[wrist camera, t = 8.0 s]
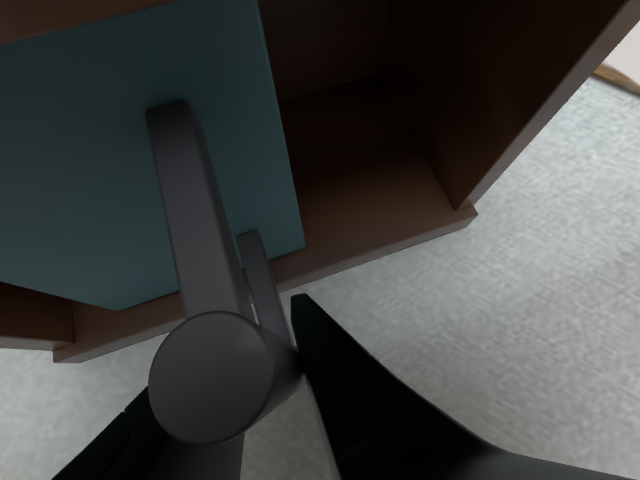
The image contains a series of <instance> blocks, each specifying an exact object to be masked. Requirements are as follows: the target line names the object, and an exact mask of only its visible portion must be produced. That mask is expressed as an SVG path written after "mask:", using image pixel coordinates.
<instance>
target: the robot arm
mask: <svg viewBox="0 0 640 480" xmlns="http://www.w3.org/2000/svg"><path fill="white" fill-rule="evenodd" d="M291 324H292V328H293V332H294V336H295V340H296V344H297V348H298V351H299V355H300V359H301V363H302V367H303V371H304V375H305V379H306V383H307V386H308V390H309V394H310V397H311V401H312V404H313V408H314V411H315V415H316V418H317V422H318V425H319V429H320V432H321V436H322V439H323V443H324V446H325V450H326V454H327V457H328V461H329V464H330V468H331V471H332V475H333V478H334V480H635V479H630V478H626V477H621V476H616V475H612V474H607V473H602V472H598V471H593V470H588V469H584V468H579V467H574V466H570V465H565V464H560V463H556V462H551V461H546V460H542V459H537V458H532V457H528V456H523V455H519V454H515V453H511V452H509V451H506V450H503V449H501V448H499V447H497V446H495V445H493V444H491V443H489V442H487V441H485V440H484V439H482V438H480V437H479V436H477V435H476V434H474V433H473V432H471V431H470V430H468V429H467V428H466V427H464V426H463V425H461V424H460V423H459V422H457V421H456V420H454V419H453V418H452V417H450V416H449V415H447V414H446V413H445V412H443V411H442V410H440V409H439V408H438V407H436V406H435V405H433V404H432V403H431V402H429V401H428V400H426V399H425V398H424V397H422V396H421V395H419V394H418V393H417V392H415V391H414V390H413V389H411V388H410V387H409V386H407V385H406V384H405V383H403V382H402V381H401V380H399V379H398V378H397V377H396V376H395V375H393V374H392V373H391V372H390V371H389V370H388V369H387V368H385V367H384V366H383V365H382V364H381V363H380V362H379V361H378V360H377V359H376V358H375V357H373V356H372V355H370V353H369V352H368V351H367V350H366V349H365V348H364V347H363V346H362V345H360V344H359V343H358V342H357V341H356V340H355V339H354V338H353V337H352V336H351V335H350V334H349V333H348V332H347V331H346V330H344V329H343V328H342V327H341V326H340V325H339V324H338V323H337V322H336V321H335V320H334V319H333V318H332V317H331V316H330V315H328V314H327V313H326V312H325V311H324V310H323V309H322V308H321V307H320V306H319V305H318V304H317V303H316V302H315V301H314V300H312V299H311V298H310V297H309V296H308V295H307V294H306V293H302V294H298V295H293V296H291ZM124 411H125V412H121V413H120V414H119V415H118V416H117V417H116V418H115V419H114V420H113V421H112V422H111V423H110V424H109V425H108V426H107V427H106V428H105V429H104V430H103V431H102V432H101V433H100V434H99V435H98V436H97V437H96V438H95V439H94V440H93V441H92V442H91V443H90V444H89V445H88V446H87V447H86V448H85V449H84V450H83V451H81V452H80V453H79V454H78V455H77V456H76V457H75V458H74V459H73V460H72V461H71V462H70V463H68V464H67V465H66V466H65V467H64V468H63V469H62V470H61V471H60V472H59V473H58V474H57V475H55V476H54V477H53V478H52V479H51V480H240V472H241V462H242V453H243V443H244V433H245V432H244V433H243V434H242V435H240V436H239V437H237V438H235V439H234V440H231V441H229V442H227V443H224V444H221V445H218V446H212V447H196V446H191V445H187V444H184V443H182V442H180V441H178V440H176V439H175V438H173V437H172V436H171V435H169V434H168V433H167V432H166V431H165V430H164V429H163V428H162V426H161V425H160V424H159V422H158V421H157V419H156V417H155V415H154V413H153V411H152V408H151V405H150V400H149V392H148V386H147V387H146V388H145V389H144V390H143V391H142V392H141V393H140V394H139V395H138V396H137V397H136V398H135V399H134V400H133V401H132V402H131V403H130V404H129V405H128V406H127V407H126V408H125V410H124Z"/></svg>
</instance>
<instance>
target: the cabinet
mask: <svg viewBox="0 0 640 480" xmlns="http://www.w3.org/2000/svg"><path fill="white" fill-rule="evenodd" d="M176 1H180V0H0V46H3V45H7V44H11V43H15V42H19V41H23V40H27V39H30V38H34V37H38V36H42V35H46V34H50V33H54V32H58V31H62V30H66V29H70V28H74V27H78V26H82V25H85V24H89V23H93V22H97V21H101V20H105V19H109V18H113V17H117V16H121V15H125V14H129V13H133V12H137V11H140V10H144V9H148V8H152V7H156V6H160V5H164V4H168V3H172V2H176ZM258 5H259V10H260V15H261V20H262V25H263V30H264V35H265V40H266V45H267V50H268V55H269V60H270V65H271V70H272V76H273V81H274V86H275V91H276V96H277V101H278V106H279V111H280V116H281V121H282V126H283V131H284V136H285V141H286V146H287V152H288V157H289V162H290V167H291V172H292V177H293V182H294V187H295V192H296V197H297V202H298V207H299V212H300V217H301V222H302V228H303V233H304V238H305V243H306V247H305V248H302V249H299V250H296V251H293V252H290V253H287V254H284V255H281V256H278V257H275V258H272V259H269V260H268V261H269V264H270V267H271V270H272V274H273V277H274V280H275V283H276V287H277V290H278V293H280V292H282V291H285V290H288V289H291V288H294V287H297V286H300V285H302V284H305V283H308V282H311V281H314V280H317V279H319V278H322V277H325V276H328V275H331V274H334V273H337V272H339V271H342V270H345V269H348V268H351V267H354V266H356V265H359V264H362V263H365V262H368V261H371V260H374V259H376V258H379V257H382V256H385V255H388V254H391V253H393V252H396V251H399V250H402V249H405V248H408V247H410V246H413V245H416V244H419V243H422V242H425V241H428V240H430V239H433V238H436V237H439V236H442V235H445V234H447V233H450V232H453V231H456V230H459V229H462V228H465V227H467V226H468V225H469V224H470V223H471V222H472V221H473V220H474V219H475V218H476V217H477V215H478V213H477V211H476V210H475V208H474V206H473V205H474V204H475V203H476V202H477V201H478V200H479V199H480V198H481V197H482V195H483V194H484V193H485V192H486V191H487V190H488V189H489V188H490V187H491V185H492V184H493V183H494V182H495V181H496V180H497V179H498V178H499V177H500V175H501V174H502V173H503V172H504V171H505V170H506V169H507V168H508V167H509V165H510V164H511V163H512V162H513V161H514V160H515V159H516V158H517V156H518V155H519V154H520V153H521V152H522V151H523V150H524V149H525V148H526V146H527V145H528V144H529V143H530V142H531V141H532V140H533V139H534V138H535V136H536V135H537V134H538V133H539V132H540V131H541V130H542V129H543V128H544V126H545V125H546V124H547V123H548V122H549V121H550V120H551V119H552V117H553V116H554V115H555V114H556V113H557V112H558V111H559V110H560V109H561V107H562V106H563V105H564V104H565V103H566V102H567V101H568V100H569V99H570V97H571V96H572V95H573V94H574V93H575V92H576V91H577V90H578V89H579V87H580V86H581V85H582V84H583V83H584V82H585V81H586V80H587V78H588V77H589V76H590V75H591V74H592V73H593V72H594V71H595V70H596V68H597V67H598V66H599V65H600V64H601V63H602V62H603V61H604V59H605V58H606V57H607V56H608V55H609V54H610V53H611V52H612V50H613V49H614V48H615V47H616V46H617V45H618V44H619V43H620V42H621V41H622V39H623V38H624V37H625V36H626V35H627V34H628V33H629V32H630V31H631V29H632V28H633V27H634V26H635V25H636V24H637V23H638V22H639V21H640V0H258ZM241 271H242V275H243V278H244V282H245V286H246V289H247V293H248V297H249V300H250V303H251V302H253V299H252V295H251V291H250V288H249V284H248V281H247V277H246V273H245V270H244V268H243V269H241ZM184 321H185V316H184V311H183V306H182V301H181V296H180V291H179V290H178V291H175V292H172V293H170V294H167V295H164V296H161V297H158V298H155V299H152V300H149V301H146V302H143V303H140V304H137V305H134V306H131V307H128V308H125V309H122V310H120V311H114V310H111V309H107V308H103V307H99V306H95V305H91V304H87V303H83V302H79V301H75V300H72V299H68V298H64V297H60V296H56V295H52V294H48V293H44V292H40V291H36V290H33V289H29V288H25V287H21V286H17V285H13V284H9V283H5V282H1V281H0V348H9V349H28V350H46V351H53V362H54V363H80V362H83V361H86V360H89V359H92V358H95V357H98V356H100V355H103V354H106V353H109V352H112V351H115V350H117V349H120V348H123V347H126V346H129V345H132V344H135V343H137V342H140V341H143V340H146V339H149V338H152V337H154V336H157V335H160V334H163V333H166V332H169V331H172V330H174V329H175V328H176V327H177V326H178V325H180V324H181V323H183V322H184Z"/></svg>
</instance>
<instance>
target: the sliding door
mask: <svg viewBox="0 0 640 480" xmlns="http://www.w3.org/2000/svg"><path fill="white" fill-rule="evenodd" d="M305 247H306V243H305V238H304V233H303V228H302V222H301V217H300V212H299V207H298V202H297V197H296V192H295V187H294V182H293V177H292V172H291V167H290V162H289V157H288V152H287V146H286V141H285V136H284V131H283V126H282V121H281V116H280V111H279V106H278V101H277V96H276V91H275V86H274V81H273V76H272V70H271V65H270V60H269V55H268V50H267V45H266V40H265V35H264V30H263V25H262V20H261V15H260V10H259V5H258V0H180V1H176V2H172V3H168V4H164V5H160V6H156V7H152V8H148V9H144V10H140V11H137V12H133V13H129V14H125V15H121V16H117V17H113V18H109V19H105V20H101V21H97V22H93V23H89V24H85V25H82V26H78V27H74V28H70V29H66V30H62V31H58V32H54V33H50V34H46V35H42V36H38V37H34V38H30V39H27V40H23V41H19V42H15V43H11V44H7V45H3V46H0V281H1V282H5V283H9V284H13V285H17V286H21V287H25V288H29V289H33V290H36V291H40V292H44V293H48V294H52V295H56V296H60V297H64V298H68V299H72V300H75V301H79V302H83V303H87V304H91V305H95V306H99V307H103V308H107V309H111V310H114V311H120V310H122V309H125V308H128V307H131V306H134V305H137V304H140V303H143V302H146V301H149V300H152V299H155V298H158V297H161V296H164V295H167V294H170V293H172V292H175V291H178V290H179V291H180V296H181V301H182V306H183V311H184V316H185V321H184V322H183V323H181V324H180V325H178V326H177V327H176V328H175V329H174V330H173V331H172V332H171V333H170V334H169V335H168V336H167V337H166V338H165V340H164V341H163V343H162V344H161V345H160V347H159V349H158V351H157V353H156V355H155V357H154V359H153V362H152V365H151V369H150V374H149V381H148V392H149V400H150V405H151V408H152V411H153V413H154V415H155V417H156V419H157V421H158V422H159V424H160V425H161V426H162V428H163V429H164V430H165V431H166V432H167V433H168V434H169V435H171V436H172V437H173V438H175V439H176V440H178V441H180V442H182V443H184V444H187V445H191V446H196V447H212V446H218V445H221V444H224V443H227V442H229V441H231V440H234V439H235V438H237V437H239V436H240V435H242V434H243V433H244V432H246V431H247V430H248V429H249V428H251V427H252V426H253V425H255V424H256V423H257V422H258V421H260V420H261V419H262V418H264V417H265V416H266V415H267V414H269V413H270V412H271V411H272V410H274V409H275V408H276V407H278V406H279V405H280V404H281V403H283V402H284V401H285V400H287V399H288V398H289V397H290V396H292V395H293V394H294V393H295V392H297V391H298V390H299V389H301V388H302V387H303V386H304V385H305V384H306V379H305V375H304V371H303V367H302V363H301V359H300V355H299V351H298V348H297V347H296V346H295V345H294V342H293V338H292V335H291V332H290V329H289V325H288V322H287V319H286V316H285V312H284V309H283V306H282V303H281V300H280V296H279V293H278V290H277V287H276V283H275V280H274V277H273V274H272V270H271V267H270V264H269V261H268V260H269V259H272V258H275V257H278V256H281V255H284V254H287V253H290V252H293V251H296V250H299V249H302V248H305ZM243 268H244V270H245V273H246V277H247V281H248V284H249V288H250V291H251V295H252V299H253V302H254V306H255V309H256V313H257V317H258V320H259V324H260V325H258V324H256V322H255V318H254V315H253V311H252V308H251V304H250V300H249V297H248V293H247V289H246V286H245V282H244V278H243V275H242V271H241V269H243Z"/></svg>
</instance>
